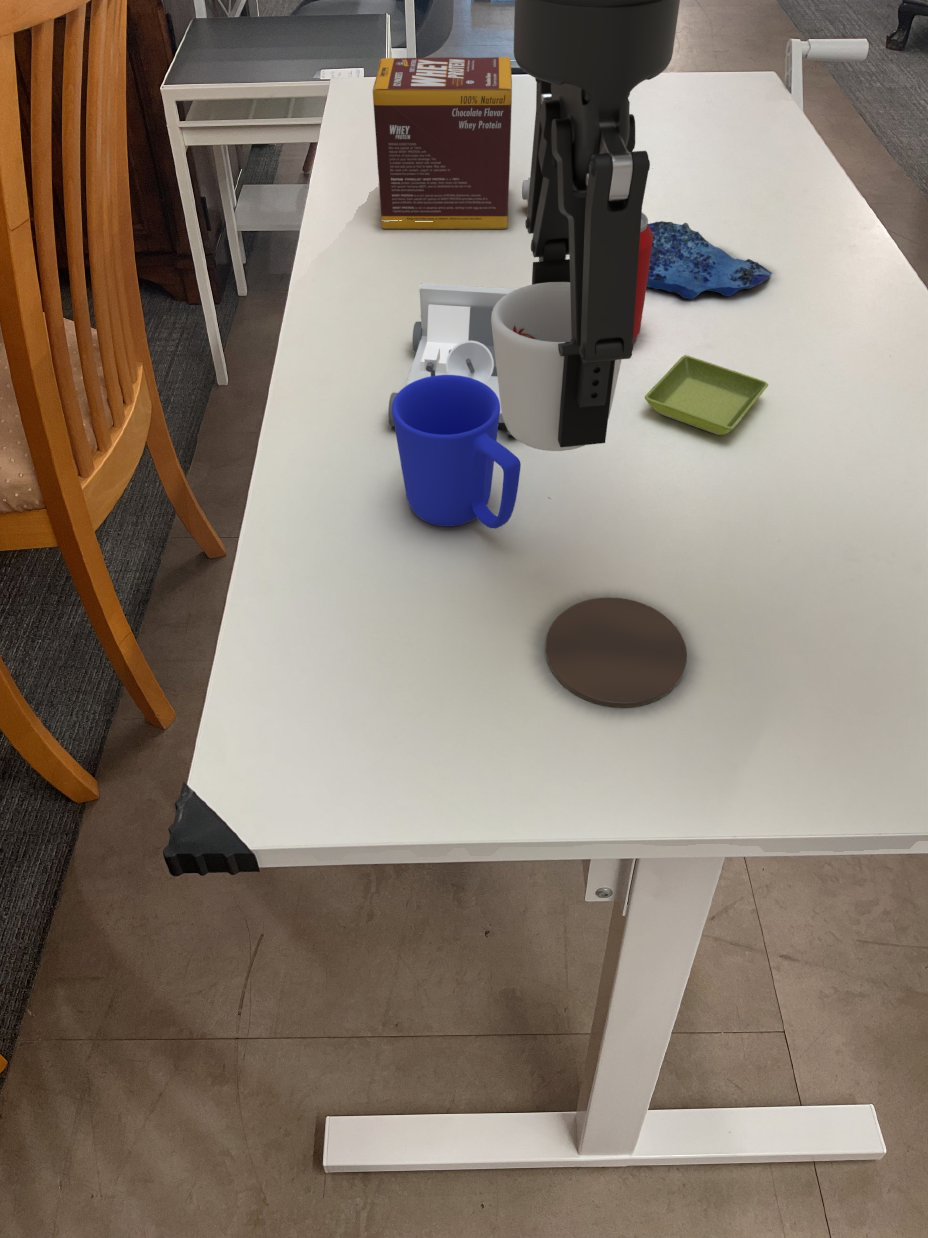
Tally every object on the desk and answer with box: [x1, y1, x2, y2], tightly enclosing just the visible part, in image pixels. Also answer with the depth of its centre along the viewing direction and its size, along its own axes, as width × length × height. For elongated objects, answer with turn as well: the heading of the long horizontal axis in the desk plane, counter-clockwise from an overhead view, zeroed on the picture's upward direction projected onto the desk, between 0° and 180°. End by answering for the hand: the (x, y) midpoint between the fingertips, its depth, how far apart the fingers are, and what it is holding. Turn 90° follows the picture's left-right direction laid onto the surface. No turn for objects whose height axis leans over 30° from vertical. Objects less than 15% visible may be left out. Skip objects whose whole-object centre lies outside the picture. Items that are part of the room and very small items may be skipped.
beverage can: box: [633, 212, 653, 340], centre depth 92 cm, size 7×7×12 cm
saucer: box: [644, 354, 769, 436], centre depth 86 cm, size 9×9×2 cm
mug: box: [392, 375, 522, 529], centre depth 74 cm, size 8×12×10 cm
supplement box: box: [372, 56, 513, 230], centre depth 110 cm, size 10×15×16 cm
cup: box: [491, 282, 623, 452], centre depth 58 cm, size 11×8×8 cm
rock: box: [646, 220, 773, 300], centre depth 104 cm, size 15×17×2 cm
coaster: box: [545, 596, 688, 708], centre depth 67 cm, size 10×10×1 cm
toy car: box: [387, 283, 517, 436], centre depth 85 cm, size 18×10×12 cm
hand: (564, 396), depth 59 cm, fingers closed on cup, 8 cm apart
